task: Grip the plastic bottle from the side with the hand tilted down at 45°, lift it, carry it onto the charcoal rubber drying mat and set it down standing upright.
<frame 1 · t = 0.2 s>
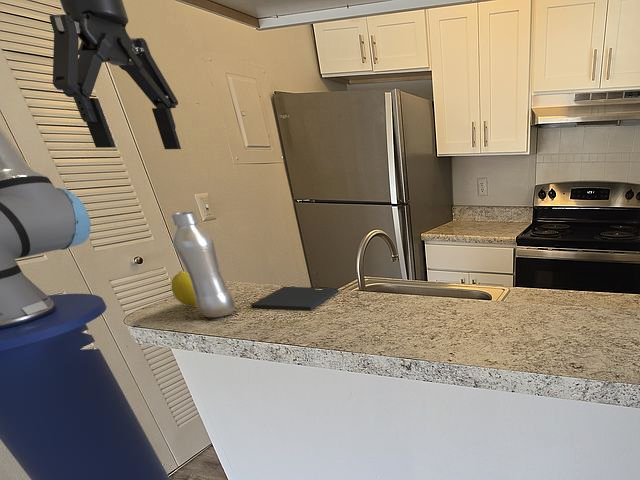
hand: (142, 148, 69), 31 cm above the countertop, tool pointing down, fingers open, 13 cm apart
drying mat: (297, 299, 90), on the countertop
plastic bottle: (220, 316, 83), on the countertop
lemon: (195, 308, 88), on the countertop
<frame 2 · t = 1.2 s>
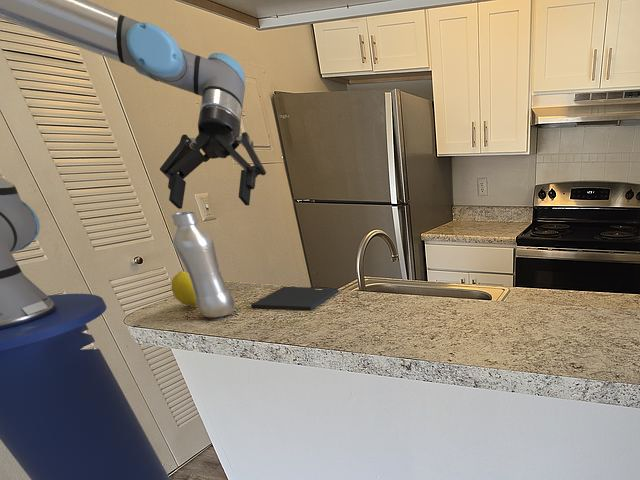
hand: (209, 203, 82), 21 cm above the countertop, tool tilted 45°, fingers open, 13 cm apart
nothing on the countertop moved.
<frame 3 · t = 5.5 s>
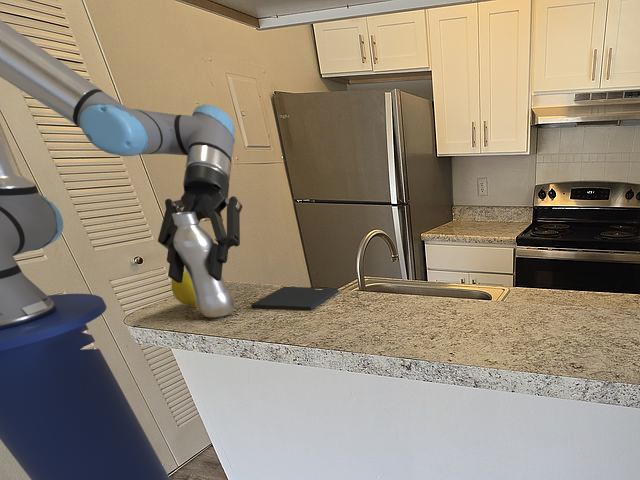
hand: (195, 278, 76), 9 cm above the countertop, tool tilted 45°, fingers closed on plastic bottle, 6 cm apart
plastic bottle: (220, 316, 83), on the countertop, touching gripper
everything else where it was.
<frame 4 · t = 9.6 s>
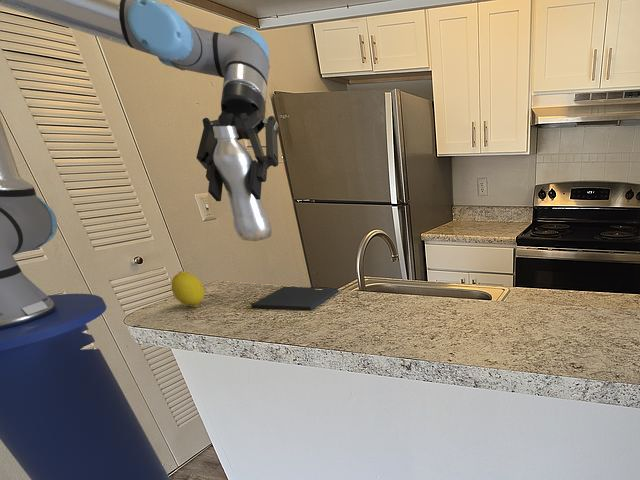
hand: (234, 195, 74), 23 cm above the countertop, tool tilted 45°, fingers closed on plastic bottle, 6 cm apart
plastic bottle: (257, 241, 82), point 13 cm above the countertop, touching gripper
everything else where it was.
when the fingers open (10 cm above the countertop, at t = 14.0 s): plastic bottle moves 5 cm, resting on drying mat.
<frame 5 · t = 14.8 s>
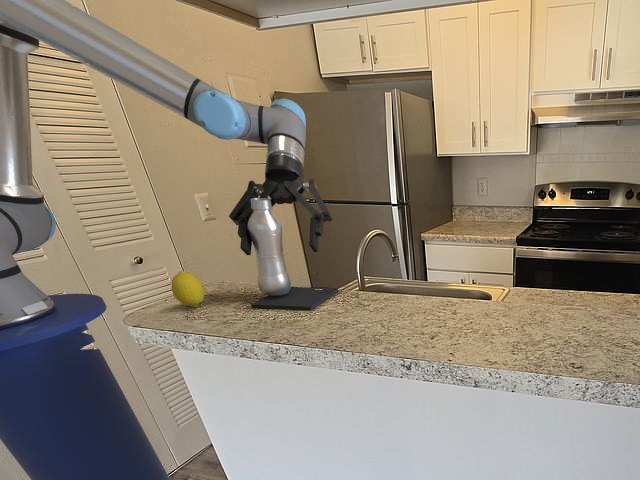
hand: (279, 250, 83), 11 cm above the countertop, tool tilted 45°, fingers open, 13 cm apart
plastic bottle: (276, 295, 91), point 1 cm above the countertop, touching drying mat, gripper
everything else where it was.
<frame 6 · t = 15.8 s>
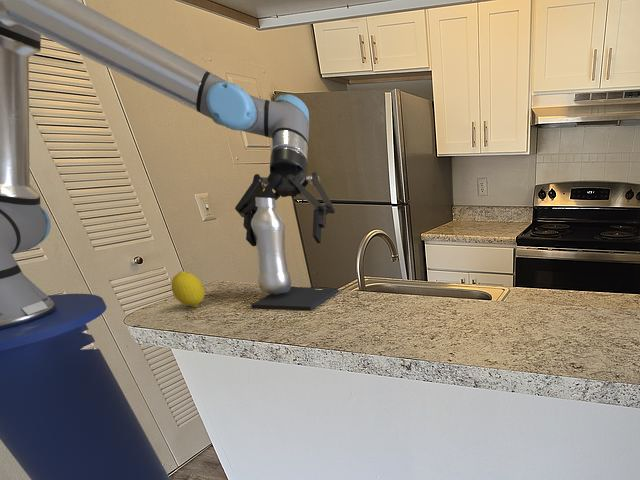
hand: (284, 241, 85), 13 cm above the countertop, tool tilted 45°, fingers open, 13 cm apart
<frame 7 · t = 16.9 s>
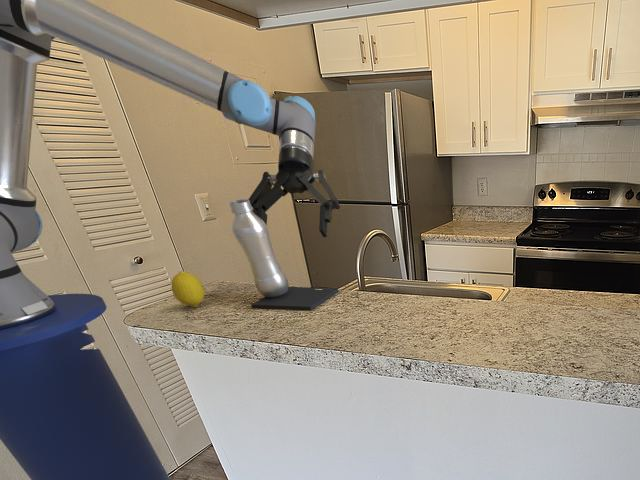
hand: (292, 235, 90), 13 cm above the countertop, tool tilted 45°, fingers open, 13 cm apart
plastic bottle: (276, 295, 91), point 1 cm above the countertop, touching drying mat
everything else where it was.
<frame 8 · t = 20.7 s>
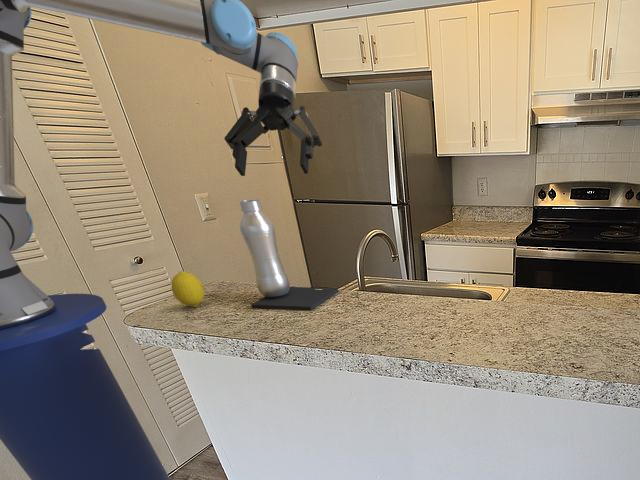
hand: (272, 170, 88), 26 cm above the countertop, tool tilted 45°, fingers open, 13 cm apart
at the end: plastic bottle inside the target area on the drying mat (4.7 cm from its centre), point 0.6 cm above the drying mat's base; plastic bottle tilted 0°; the gripper is holding nothing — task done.
